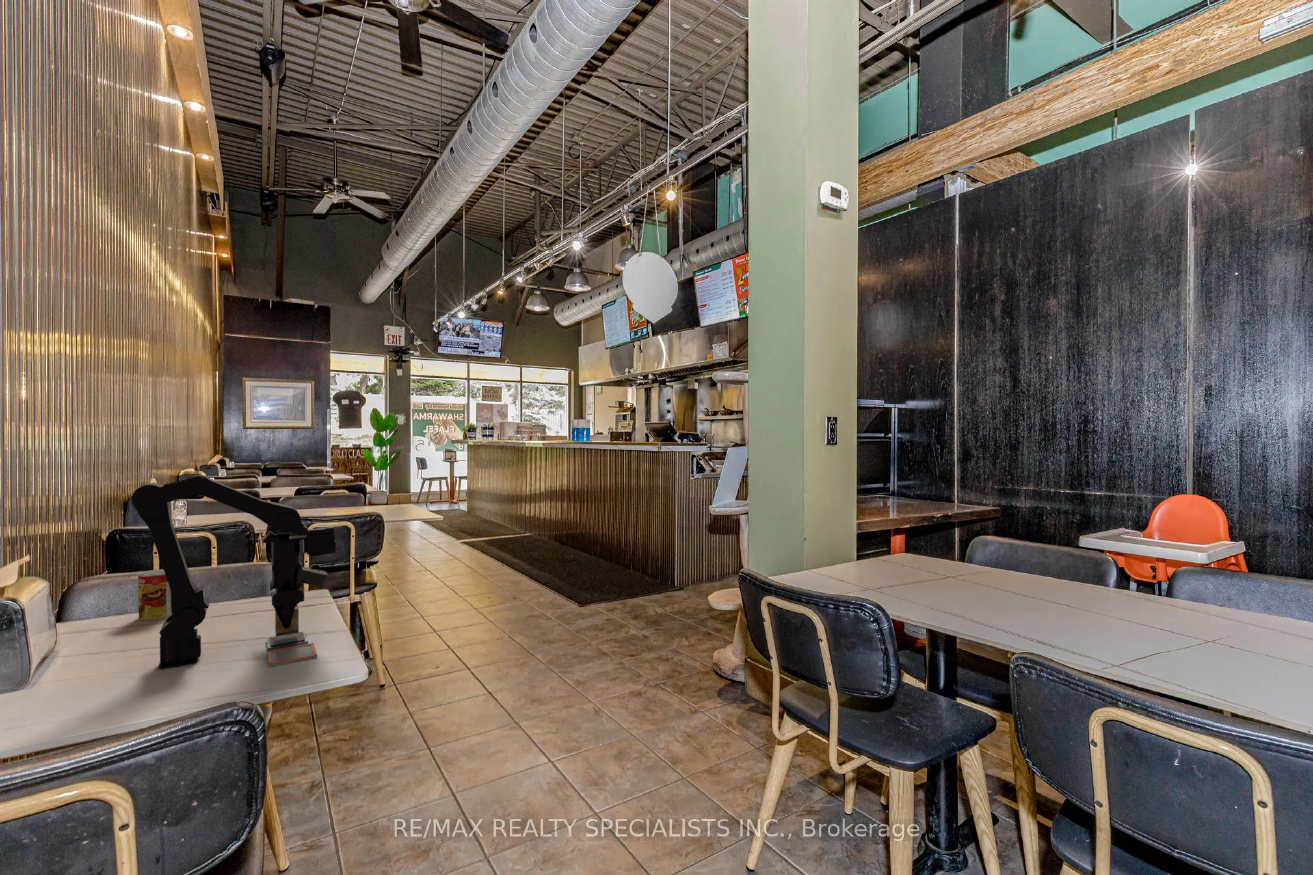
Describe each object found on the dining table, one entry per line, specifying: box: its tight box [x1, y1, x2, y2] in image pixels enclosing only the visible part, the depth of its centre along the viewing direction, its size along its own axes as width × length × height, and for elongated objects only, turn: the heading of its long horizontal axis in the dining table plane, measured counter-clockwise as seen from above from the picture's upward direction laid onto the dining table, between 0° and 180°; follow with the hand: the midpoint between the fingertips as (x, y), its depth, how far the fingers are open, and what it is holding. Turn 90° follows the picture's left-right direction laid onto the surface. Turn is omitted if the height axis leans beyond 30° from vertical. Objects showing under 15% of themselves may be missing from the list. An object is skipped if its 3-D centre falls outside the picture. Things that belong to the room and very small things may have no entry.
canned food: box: [137, 568, 172, 622], centre depth 163 cm, size 8×8×12 cm
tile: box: [267, 642, 318, 667], centre depth 134 cm, size 9×9×1 cm
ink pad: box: [266, 631, 309, 652], centre depth 142 cm, size 8×8×1 cm
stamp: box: [274, 604, 300, 636], centre depth 141 cm, size 4×4×6 cm
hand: (286, 625), depth 141 cm, fingers closed on stamp, 4 cm apart
